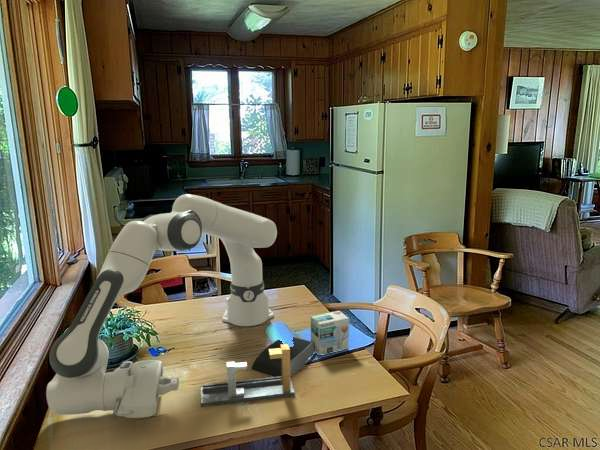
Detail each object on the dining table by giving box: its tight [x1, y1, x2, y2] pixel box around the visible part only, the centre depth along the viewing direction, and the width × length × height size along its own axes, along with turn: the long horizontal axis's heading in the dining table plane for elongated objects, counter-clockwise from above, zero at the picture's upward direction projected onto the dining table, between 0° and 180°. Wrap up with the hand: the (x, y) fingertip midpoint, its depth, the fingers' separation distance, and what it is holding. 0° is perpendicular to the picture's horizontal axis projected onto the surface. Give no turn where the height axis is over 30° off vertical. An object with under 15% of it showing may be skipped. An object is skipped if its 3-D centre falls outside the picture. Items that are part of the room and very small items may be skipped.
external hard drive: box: [250, 336, 315, 377], centre depth 136 cm, size 13×19×4 cm
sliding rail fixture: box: [199, 344, 296, 408], centre depth 117 cm, size 7×24×13 cm, turn 101°
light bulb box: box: [310, 310, 350, 356], centre depth 141 cm, size 11×7×11 cm, turn 114°
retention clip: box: [226, 361, 248, 398], centre depth 116 cm, size 2×5×9 cm, turn 101°
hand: (178, 383), depth 113 cm, fingers closed
